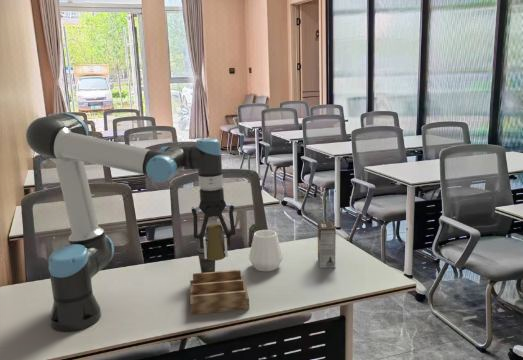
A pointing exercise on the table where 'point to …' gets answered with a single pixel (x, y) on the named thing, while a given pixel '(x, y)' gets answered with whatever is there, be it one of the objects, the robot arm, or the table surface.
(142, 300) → the table surface
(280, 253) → the cup
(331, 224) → the coffee box
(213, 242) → the olive green pawn
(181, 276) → the table surface
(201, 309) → the rack
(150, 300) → the table surface
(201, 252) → the beverage cup
